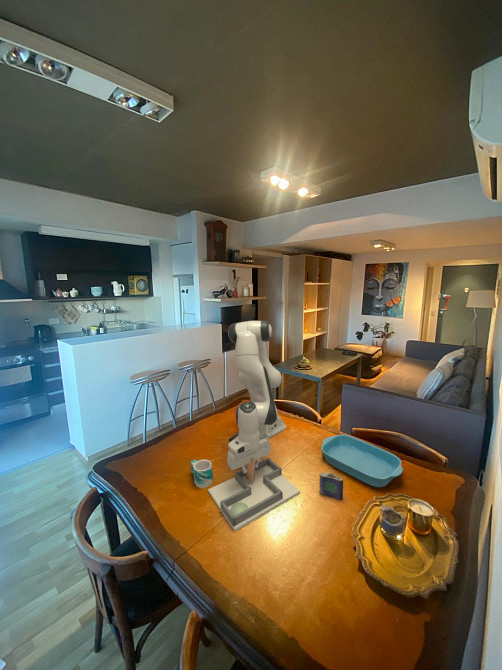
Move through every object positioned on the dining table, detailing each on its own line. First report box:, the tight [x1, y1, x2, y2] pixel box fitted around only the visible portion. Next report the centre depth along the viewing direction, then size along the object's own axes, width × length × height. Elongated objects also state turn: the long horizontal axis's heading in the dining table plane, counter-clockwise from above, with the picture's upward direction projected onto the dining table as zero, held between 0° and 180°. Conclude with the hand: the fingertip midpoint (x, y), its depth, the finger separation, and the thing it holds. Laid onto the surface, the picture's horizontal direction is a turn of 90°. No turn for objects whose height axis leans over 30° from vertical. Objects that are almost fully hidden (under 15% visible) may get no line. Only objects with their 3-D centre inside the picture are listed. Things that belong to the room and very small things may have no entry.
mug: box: [189, 458, 214, 489], centre depth 122 cm, size 8×12×8 cm
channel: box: [207, 457, 301, 532], centre depth 113 cm, size 31×23×4 cm
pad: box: [230, 502, 248, 516], centre depth 104 cm, size 7×7×1 cm
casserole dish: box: [320, 434, 404, 488], centre depth 127 cm, size 37×22×7 cm, turn 40°
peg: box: [245, 458, 255, 480], centre depth 117 cm, size 4×4×10 cm
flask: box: [318, 470, 344, 501], centre depth 110 cm, size 9×3×11 cm, turn 65°
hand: (250, 469), depth 118 cm, fingers closed on peg, 4 cm apart
